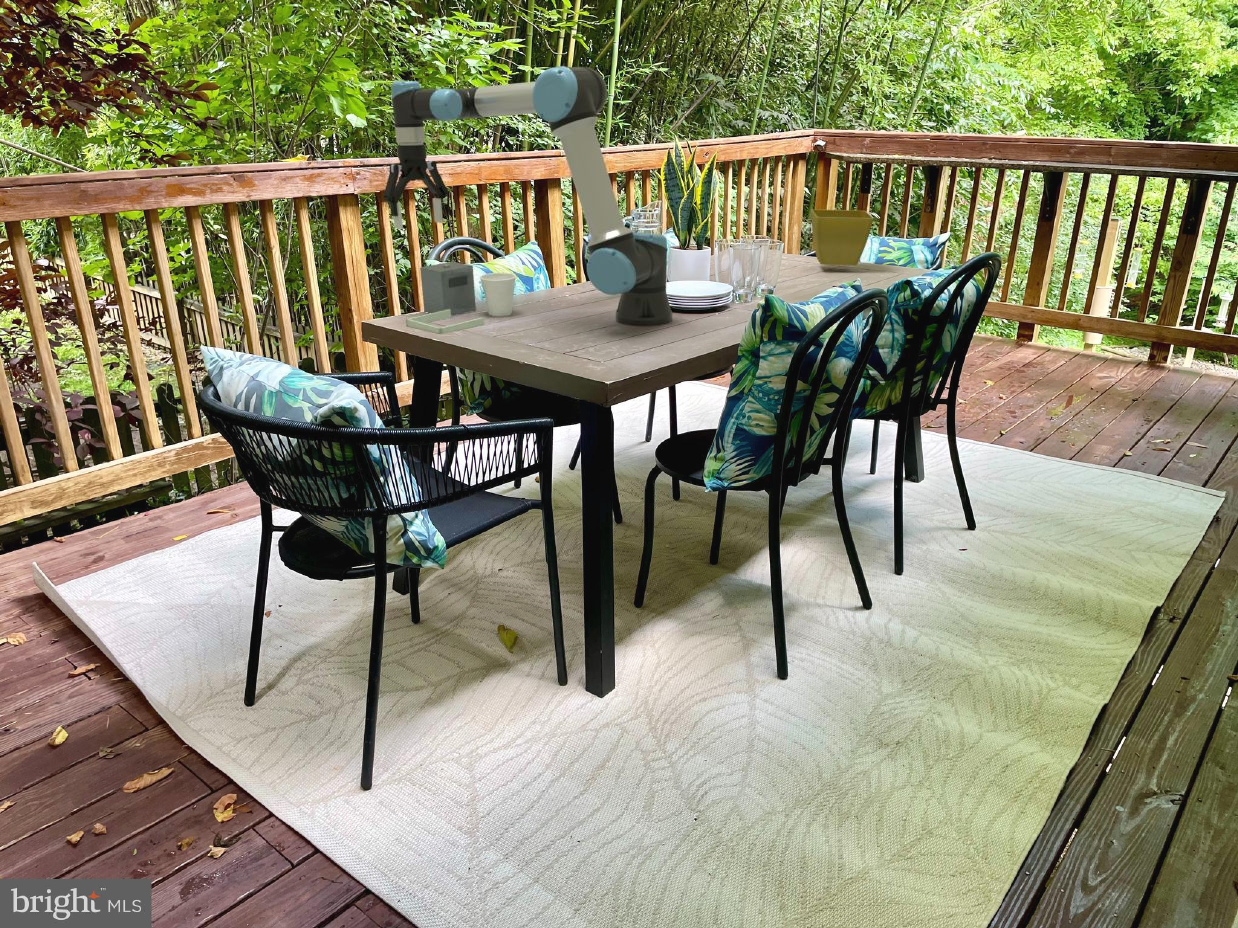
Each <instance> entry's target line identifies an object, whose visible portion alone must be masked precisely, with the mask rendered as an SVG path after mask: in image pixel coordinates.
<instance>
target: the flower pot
mask: <svg viewBox="0 0 1238 928" xmlns="http://www.w3.org/2000/svg"><path fill="white" fill-rule="evenodd" d="M810 217H811V218H810V219H811V230H812V241H813V246H814V247H813V248H814V251H815V256H816V259H817V261H818V263H819V264H820V265H826V266H827V265H828V266H829V265H831V266H833V265H834V266H857V265H858V264H859V262H860V260H861V258H862V256H863V253H864V251H865V248H866V245H867V243H868V240H869V237H870V233H871V230H872V226H873V222H874V217H873V216H872V215H871V214H870V213H869V212H868V211H866V210H858V209H857V210H854V209H853V210H852V209H848V210H847V209H811V211H810Z"/></svg>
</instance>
